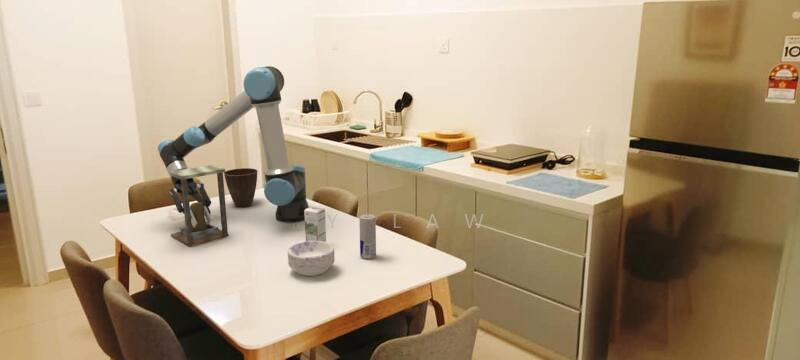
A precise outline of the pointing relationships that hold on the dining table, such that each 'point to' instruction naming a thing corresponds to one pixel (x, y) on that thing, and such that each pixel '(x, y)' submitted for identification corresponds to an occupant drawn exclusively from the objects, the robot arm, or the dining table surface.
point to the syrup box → (315, 224)
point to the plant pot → (241, 185)
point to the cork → (198, 216)
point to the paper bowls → (311, 257)
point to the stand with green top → (186, 232)
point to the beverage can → (367, 236)
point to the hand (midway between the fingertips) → (203, 223)
